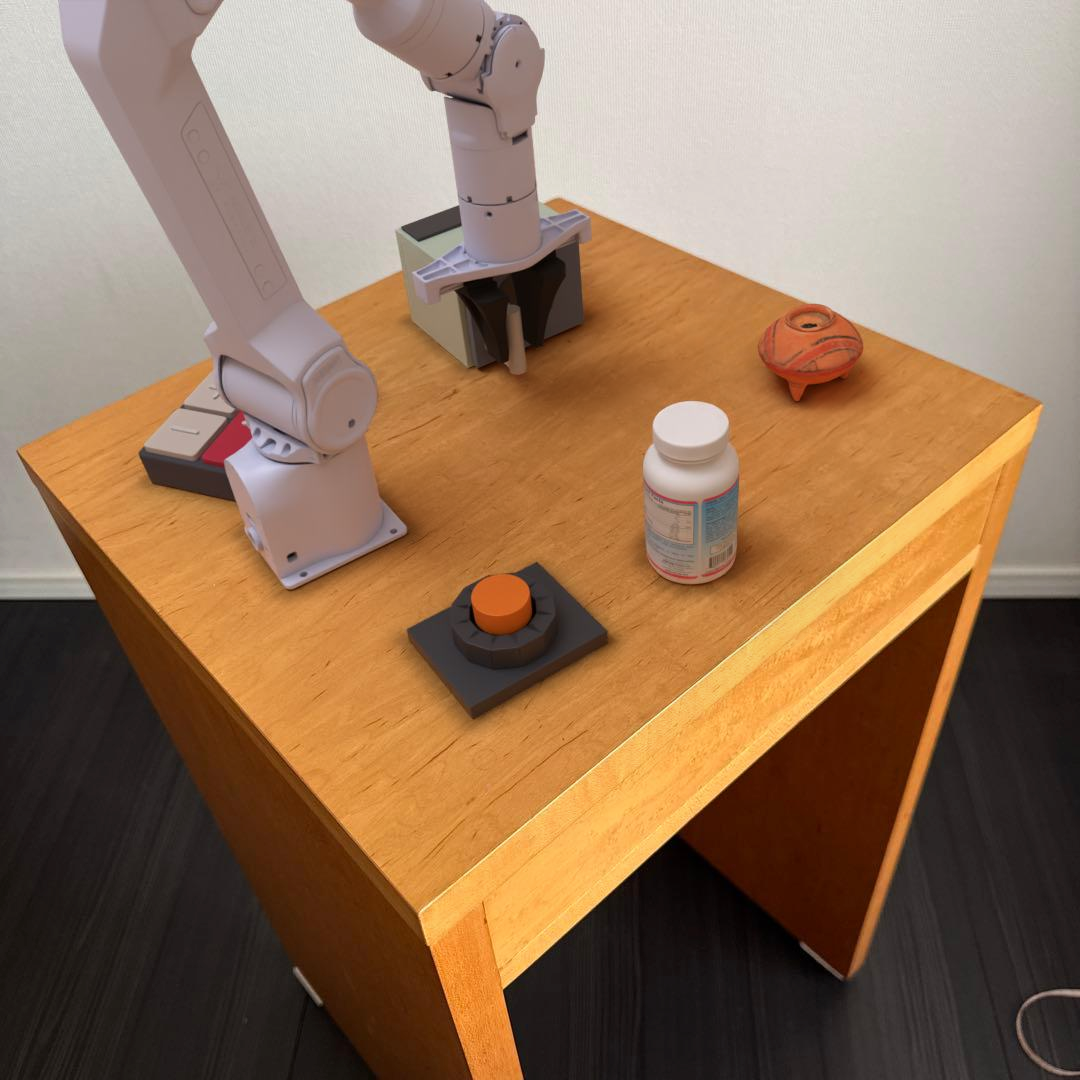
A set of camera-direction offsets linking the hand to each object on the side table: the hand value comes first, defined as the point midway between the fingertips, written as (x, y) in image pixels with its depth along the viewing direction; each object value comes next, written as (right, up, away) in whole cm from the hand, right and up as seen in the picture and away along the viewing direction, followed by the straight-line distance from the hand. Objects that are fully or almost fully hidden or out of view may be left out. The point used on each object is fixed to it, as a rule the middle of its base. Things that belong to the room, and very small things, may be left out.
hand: (515, 349), depth 89 cm
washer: (-2, +5, +11) cm, 12 cm away
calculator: (-20, -7, +1) cm, 22 cm away
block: (0, -22, -18) cm, 28 cm away
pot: (+23, -3, 0) cm, 23 cm away
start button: (0, -20, -20) cm, 28 cm away
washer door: (+2, 0, +5) cm, 6 cm away
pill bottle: (+12, -16, -13) cm, 24 cm away
